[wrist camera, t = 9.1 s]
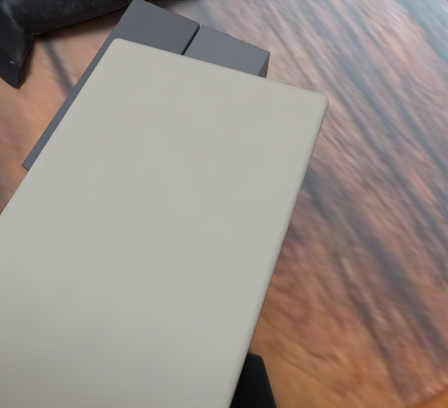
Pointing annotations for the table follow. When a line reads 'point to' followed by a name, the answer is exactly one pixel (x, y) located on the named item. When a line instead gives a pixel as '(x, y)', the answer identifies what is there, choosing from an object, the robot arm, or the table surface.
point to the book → (150, 234)
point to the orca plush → (40, 26)
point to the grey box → (168, 41)
